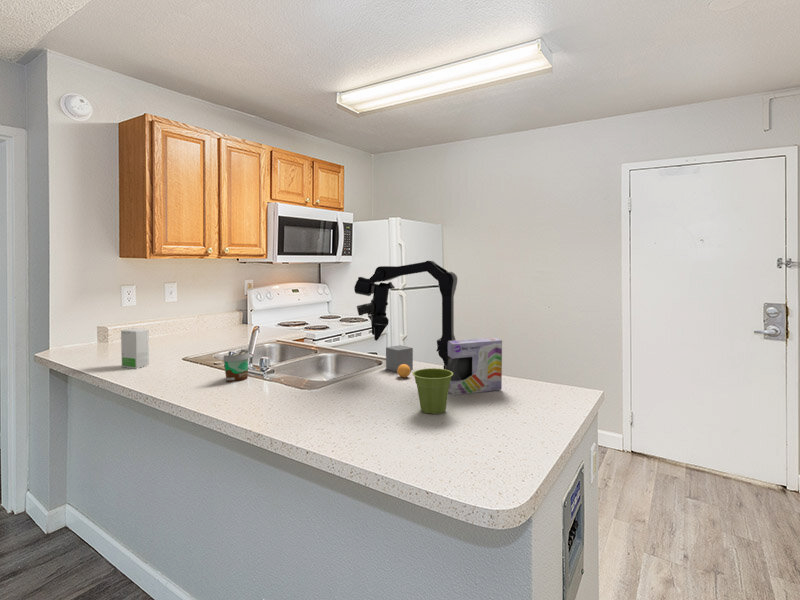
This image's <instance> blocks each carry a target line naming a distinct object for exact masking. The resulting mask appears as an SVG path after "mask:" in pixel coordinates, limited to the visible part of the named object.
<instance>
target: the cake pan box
mask: <svg viewBox="0 0 800 600" xmlns="http://www.w3.org/2000/svg"><path fill="white" fill-rule="evenodd" d="M502 369H503V340H502V339H500V338H498V337H488V338H487V337H486V338H470V339H469V338H468V339H457V340H456V339H455V340H454V341H448V365H447V370H449V371H451V372H453V376H451V382H450V384H449V391H448V394H451V395H452V396H456V395H458V396H459V395H468V394H476V393H485V392H493V391H499V390H502V386H503V385H502V384H503V383H502V380H503V379H502V378H503V377H502V375H503V374H502V373H503V370H502Z"/></svg>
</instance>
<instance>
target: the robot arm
mask: <svg viewBox="0 0 800 600" xmlns="http://www.w3.org/2000/svg"><path fill="white" fill-rule="evenodd" d="M425 272H426V273H428V274H429V275H430V276H432V277H433V278H434V279H435V280H436V281H437V283H438V286H439V287H438V288H439V292H440V294H441V330H442V331H441V332H442V333H441V336H440V338H438V339H437V340H436V345H437V349H436V352H438V356H439V357H440V358H441V359H442V361H443V369H445V370H447V365H448V341H454V340H456V337H455V334H454V330H455V329H454V326H455V325H454V324H455V322H454V320H455V319H454V318H455V317H454V315H455V313H454V309H455V307H454V303H455V302H454V301H455V300H454V298H455V297H454V296H455V292H456V290H457V284H458V276H457V274H456V273H454V272H452V271H448V270H446V269H445V268H443V267H442V266H440V265H439V264H437V263H436V262H435V261H434V260H425V261H422V262H417V263H416V262H415V263H410V264H405V265H397V266H395V265H394V266H393V265H384V266H383V265H381V266H377V267H376V268H375V269H374V273H373V274H372V275H371V277H369V278H366V277H364V276H358V277H357V280H356V282H355V285H354V287H353V288H354V293H355V294H358V295H360V296H361V295H362V296H367V297H371V295H373V296H372V299H370V302H369V303H363V304H359V305H356V310H357V314H358V316H363V315H367V317H368V319H369V320H370V324H371V325H370V326H371V334H372V335H373V336H374V341H379V339H380V337H381V335H382V334H383V332H384V331H385V330H386V328H387V327H388V326H389V318H388V317H387V312H386V311H387V308H388V307H387V306H388V305H389V303H388V299H389V294H390V293H389V291H390V290H393V289H395V288H396V286H395V285H394V284H393V282H391V280H394V279H396V278H399V277H401V276H407V275H414V274H420V273H425ZM387 281H389V282H387ZM386 282H387V283H386Z"/></svg>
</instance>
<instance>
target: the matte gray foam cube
mask: <svg viewBox="0 0 800 600" xmlns="http://www.w3.org/2000/svg"><path fill="white" fill-rule="evenodd" d="M413 350H414V349H413V347H410V346H405V345H401V344H399V345H394V346H387V347H385V369H386V370H389V371H393V372H396V373H397V369H398V367H399V366H400V365H402V364H406V365H408V366H409V367H410V371H411V370H414V369H413V367H414V363H413V362H414V361H413V360H414V354H413V353H414V351H413Z"/></svg>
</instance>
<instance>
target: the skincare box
mask: <svg viewBox="0 0 800 600" xmlns="http://www.w3.org/2000/svg"><path fill="white" fill-rule="evenodd" d="M120 336H121V337H120V340H121V341H120V345H121V351H120V352H121V368H125V367H127V368H126V369H133V368H138V369H141V368H140V367H142V368H144V367H143V366H146V367H148V366H147V365H150V360H149V359H150V353H149V352H150V350H149V349H150V347H149V345H150V344H149V338H150V337H149V329H145V328H134V327H132V328H128V329H127V328H126V329H122V330H120Z"/></svg>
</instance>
